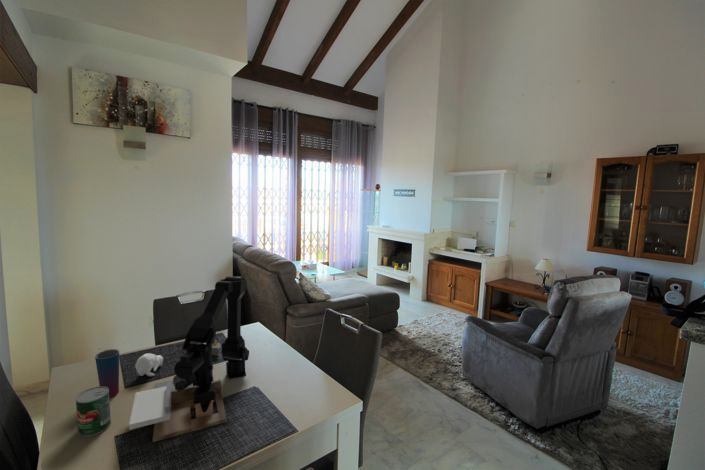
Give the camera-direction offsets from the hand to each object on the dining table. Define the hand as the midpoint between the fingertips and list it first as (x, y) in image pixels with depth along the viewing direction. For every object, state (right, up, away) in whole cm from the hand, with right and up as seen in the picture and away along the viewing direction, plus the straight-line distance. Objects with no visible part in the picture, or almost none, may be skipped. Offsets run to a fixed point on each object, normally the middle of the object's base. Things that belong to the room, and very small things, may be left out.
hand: (203, 406), depth 109 cm
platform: (-14, +3, +39) cm, 41 cm away
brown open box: (-4, -2, -2) cm, 4 cm away
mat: (-16, 0, +12) cm, 20 cm away
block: (0, -2, 0) cm, 2 cm away
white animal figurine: (-31, +2, +23) cm, 39 cm away
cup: (-37, 0, +8) cm, 38 cm away
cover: (-13, +3, -7) cm, 15 cm away
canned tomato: (-30, -2, -8) cm, 31 cm away
